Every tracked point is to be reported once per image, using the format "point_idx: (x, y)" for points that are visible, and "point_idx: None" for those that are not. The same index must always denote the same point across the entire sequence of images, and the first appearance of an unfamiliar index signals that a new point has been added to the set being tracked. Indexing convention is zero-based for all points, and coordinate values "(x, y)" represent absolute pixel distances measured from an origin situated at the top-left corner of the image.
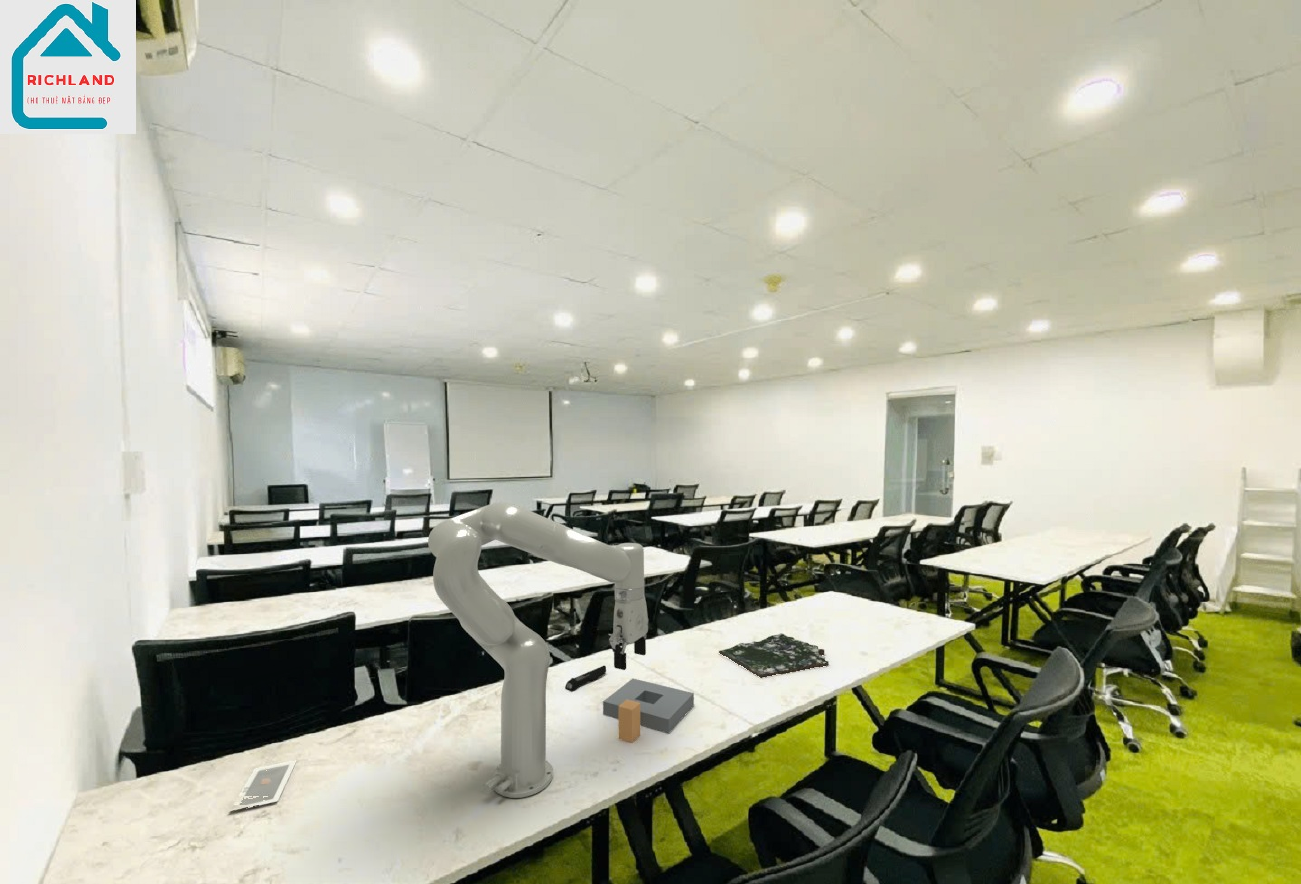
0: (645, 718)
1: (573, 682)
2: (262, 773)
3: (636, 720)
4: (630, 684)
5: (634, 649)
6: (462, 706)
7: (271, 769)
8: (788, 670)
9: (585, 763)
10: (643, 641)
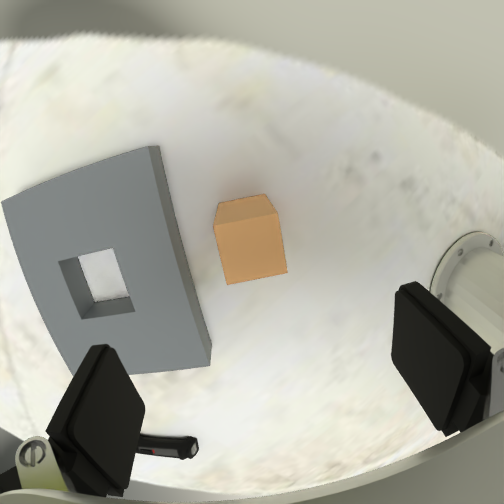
0: (171, 227)
1: (186, 451)
2: None
3: (242, 208)
4: None
5: (140, 426)
6: (347, 476)
7: None
8: None
9: (393, 228)
10: (75, 431)
